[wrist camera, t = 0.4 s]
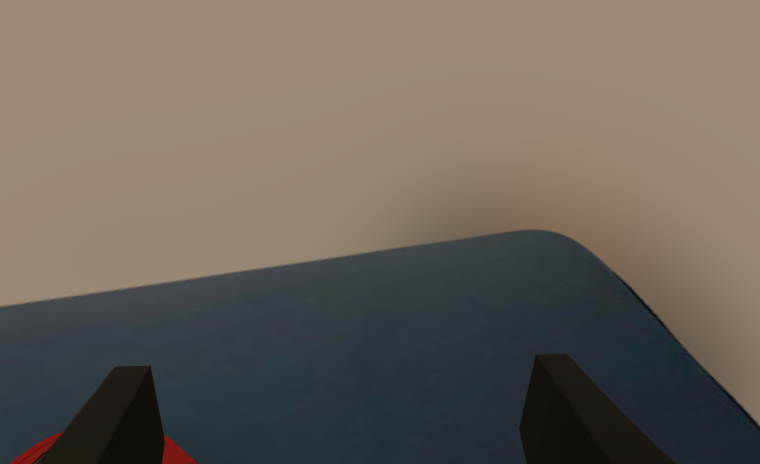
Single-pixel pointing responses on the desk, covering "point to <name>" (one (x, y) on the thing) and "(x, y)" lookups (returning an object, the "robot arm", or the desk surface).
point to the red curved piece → (173, 457)
